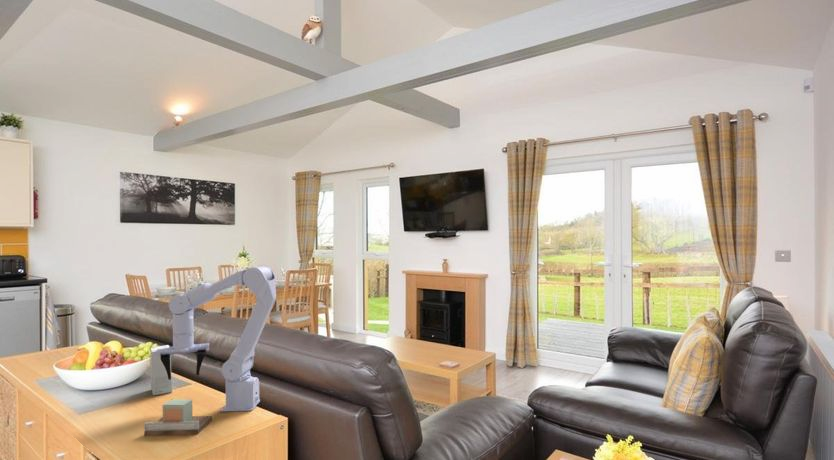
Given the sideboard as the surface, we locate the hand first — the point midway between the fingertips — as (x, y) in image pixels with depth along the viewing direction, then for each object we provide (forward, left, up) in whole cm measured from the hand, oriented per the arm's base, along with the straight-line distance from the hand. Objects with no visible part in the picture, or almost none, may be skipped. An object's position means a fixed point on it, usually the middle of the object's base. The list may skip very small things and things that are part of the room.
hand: (183, 376), depth 137 cm
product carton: (-6, +15, -8) cm, 18 cm away
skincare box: (+15, -15, -10) cm, 23 cm away
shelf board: (-6, +15, -9) cm, 19 cm away
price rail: (-6, +19, -8) cm, 22 cm away
